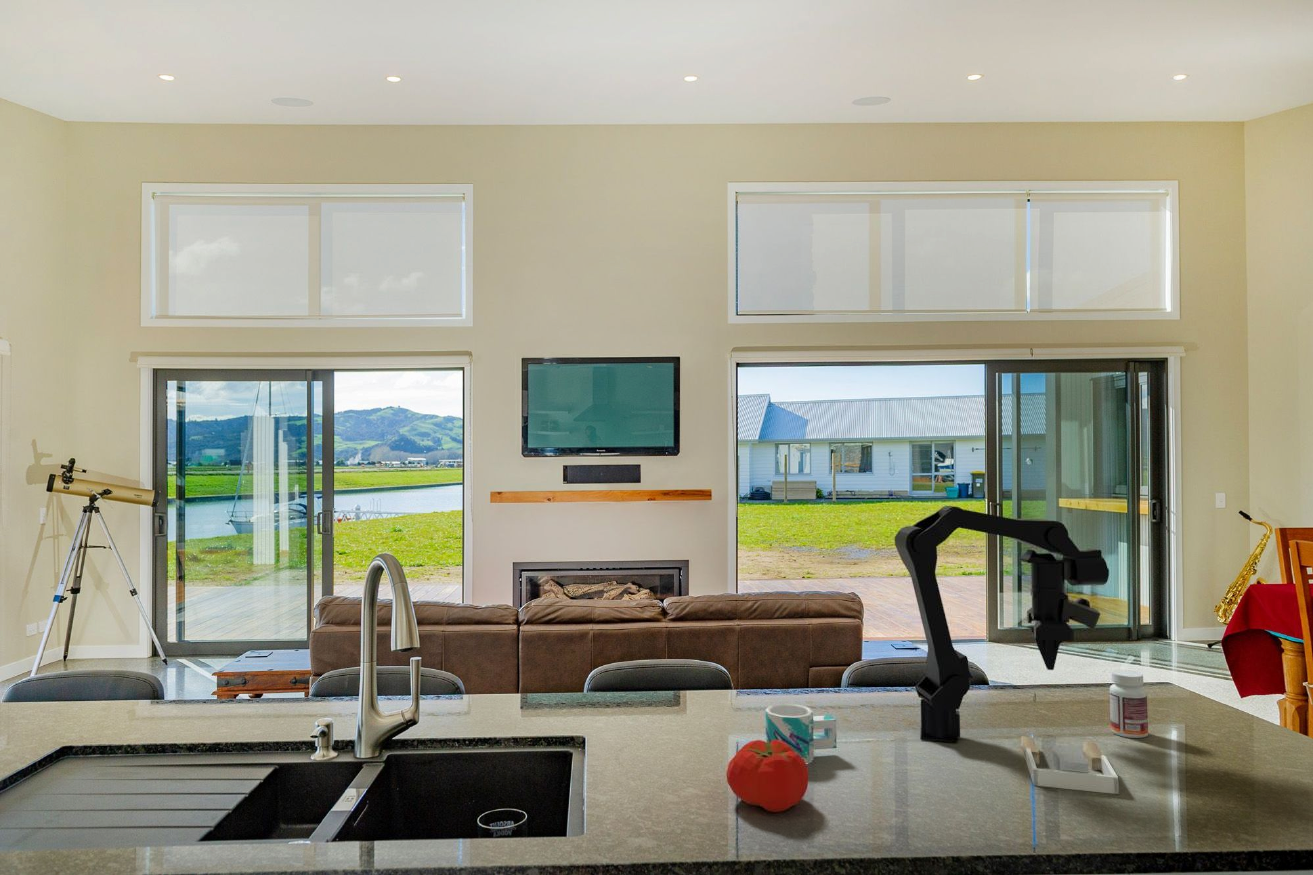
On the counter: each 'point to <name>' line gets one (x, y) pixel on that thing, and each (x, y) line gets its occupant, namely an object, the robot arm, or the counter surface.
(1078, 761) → the chip near
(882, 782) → the counter surface
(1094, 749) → the slot rails
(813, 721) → the mug
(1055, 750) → the block
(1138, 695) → the pill bottle
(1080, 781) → the chip tray
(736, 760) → the tomato
